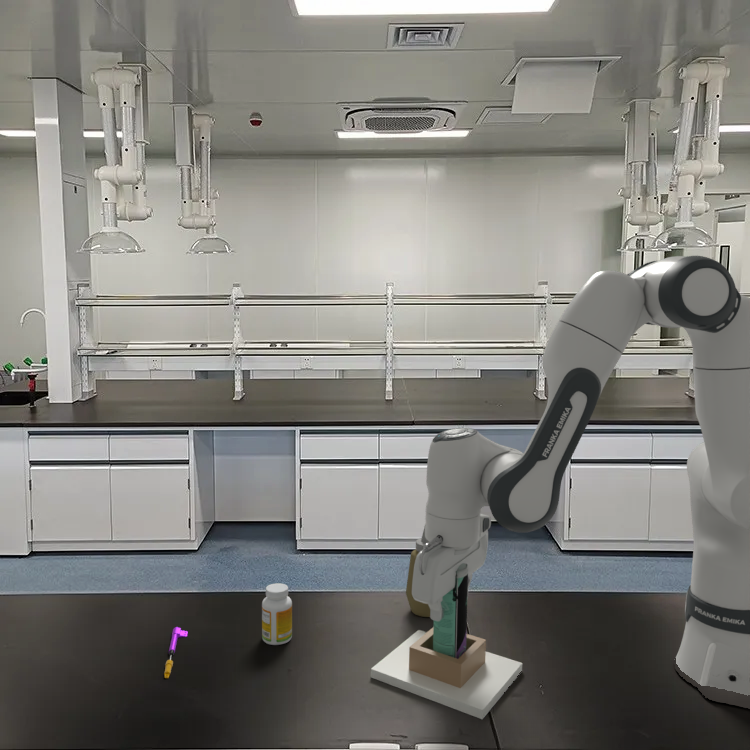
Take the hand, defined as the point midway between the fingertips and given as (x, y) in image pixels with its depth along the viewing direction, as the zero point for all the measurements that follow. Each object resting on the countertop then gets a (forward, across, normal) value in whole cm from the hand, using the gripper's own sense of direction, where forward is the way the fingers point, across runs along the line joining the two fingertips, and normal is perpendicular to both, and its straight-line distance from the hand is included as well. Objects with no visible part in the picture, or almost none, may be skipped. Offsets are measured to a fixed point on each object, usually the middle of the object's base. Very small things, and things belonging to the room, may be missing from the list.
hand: (449, 608), depth 118 cm
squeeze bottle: (+12, +18, +14) cm, 26 cm away
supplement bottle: (+12, -7, +31) cm, 34 cm away
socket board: (+12, 0, 0) cm, 12 cm away
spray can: (+10, 0, 0) cm, 10 cm away
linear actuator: (+12, -21, +42) cm, 48 cm away
